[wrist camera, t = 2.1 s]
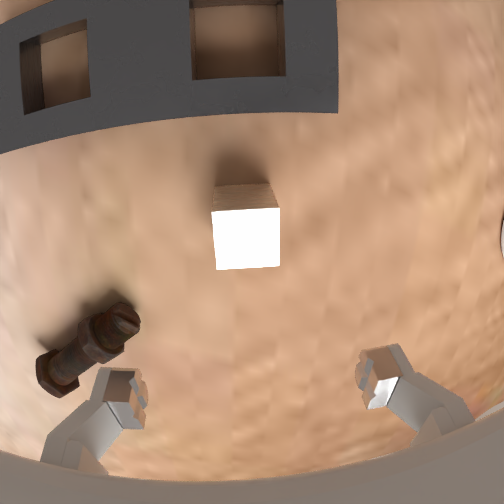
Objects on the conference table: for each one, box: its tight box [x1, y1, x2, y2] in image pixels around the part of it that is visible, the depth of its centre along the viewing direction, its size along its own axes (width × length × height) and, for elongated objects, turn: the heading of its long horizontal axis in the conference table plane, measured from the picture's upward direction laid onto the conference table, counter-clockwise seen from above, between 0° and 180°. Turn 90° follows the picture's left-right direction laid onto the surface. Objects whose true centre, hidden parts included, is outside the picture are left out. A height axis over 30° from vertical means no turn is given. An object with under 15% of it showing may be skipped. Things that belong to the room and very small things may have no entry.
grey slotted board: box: [0, 0, 338, 154], centre depth 17 cm, size 24×10×3 cm, turn 92°
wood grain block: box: [212, 183, 279, 270], centre depth 22 cm, size 4×4×5 cm
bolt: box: [36, 303, 141, 398], centre depth 28 cm, size 6×5×15 cm
